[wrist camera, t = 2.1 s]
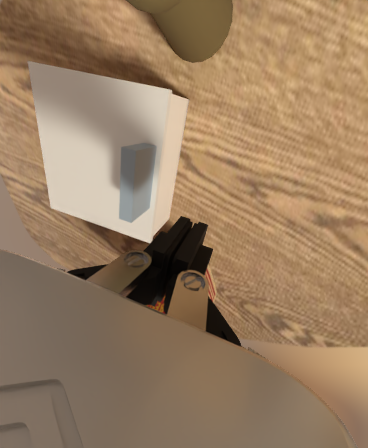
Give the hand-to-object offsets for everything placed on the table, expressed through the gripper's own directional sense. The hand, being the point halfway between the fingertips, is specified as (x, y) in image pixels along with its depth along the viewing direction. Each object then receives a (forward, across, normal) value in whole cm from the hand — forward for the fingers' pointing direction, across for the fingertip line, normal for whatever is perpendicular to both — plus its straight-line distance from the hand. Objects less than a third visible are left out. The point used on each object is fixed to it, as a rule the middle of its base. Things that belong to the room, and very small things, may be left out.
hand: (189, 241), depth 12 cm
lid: (+7, +12, -1) cm, 14 cm away
